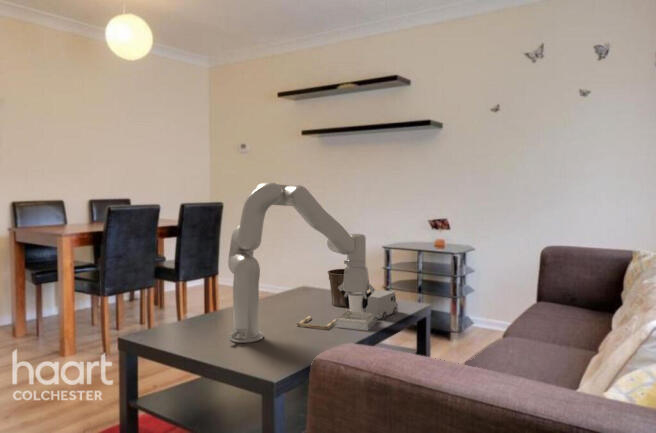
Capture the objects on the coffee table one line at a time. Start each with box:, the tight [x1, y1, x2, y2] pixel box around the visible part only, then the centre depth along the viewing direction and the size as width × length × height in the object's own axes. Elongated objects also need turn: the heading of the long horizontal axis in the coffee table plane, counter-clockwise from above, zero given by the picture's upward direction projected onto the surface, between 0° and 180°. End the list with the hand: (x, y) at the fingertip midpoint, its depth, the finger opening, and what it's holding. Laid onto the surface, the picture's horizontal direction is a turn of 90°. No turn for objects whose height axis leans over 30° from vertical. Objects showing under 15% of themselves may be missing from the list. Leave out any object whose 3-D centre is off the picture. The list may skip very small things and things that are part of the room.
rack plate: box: [334, 310, 378, 332], centre depth 200 cm, size 14×14×4 cm
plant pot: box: [327, 268, 351, 308], centre depth 233 cm, size 16×16×16 cm
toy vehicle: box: [363, 289, 399, 320], centre depth 214 cm, size 9×18×10 cm, turn 144°
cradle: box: [296, 315, 338, 331], centre depth 200 cm, size 12×13×1 cm
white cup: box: [348, 292, 364, 312], centre depth 199 cm, size 7×7×7 cm
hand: (356, 306), depth 199 cm, fingers closed on white cup, 6 cm apart
